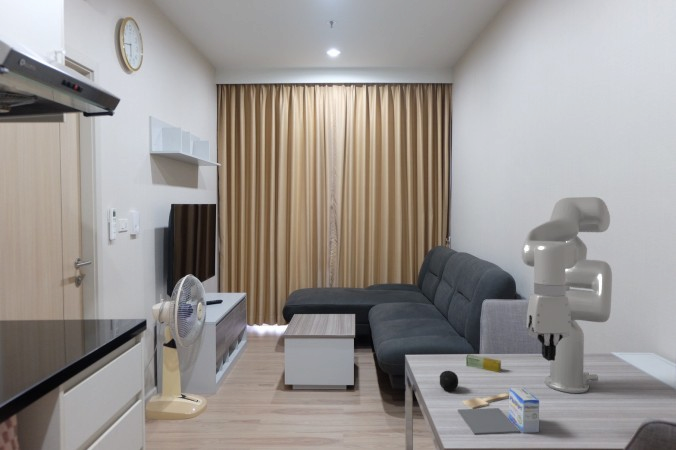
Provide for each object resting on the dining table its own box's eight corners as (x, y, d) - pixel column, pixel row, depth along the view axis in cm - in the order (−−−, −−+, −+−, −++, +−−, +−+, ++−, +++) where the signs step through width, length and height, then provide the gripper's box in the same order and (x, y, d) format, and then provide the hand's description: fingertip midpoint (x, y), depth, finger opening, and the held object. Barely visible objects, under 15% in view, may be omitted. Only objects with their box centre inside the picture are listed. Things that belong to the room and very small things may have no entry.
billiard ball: (459, 394, 136) (459, 375, 136) (439, 393, 137) (439, 374, 137) (457, 386, 142) (457, 368, 141) (438, 385, 143) (438, 367, 143)
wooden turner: (503, 393, 136) (503, 391, 136) (514, 399, 132) (514, 396, 132) (462, 403, 130) (462, 400, 130) (472, 409, 126) (472, 406, 126)
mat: (498, 409, 125) (498, 408, 125) (520, 432, 112) (520, 431, 112) (457, 410, 125) (457, 409, 125) (474, 434, 112) (474, 432, 112)
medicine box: (508, 418, 120) (508, 387, 120) (523, 417, 120) (524, 387, 120) (522, 433, 112) (523, 400, 112) (539, 432, 113) (539, 399, 112)
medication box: (465, 366, 160) (465, 355, 160) (468, 364, 162) (468, 353, 162) (499, 373, 153) (499, 362, 153) (501, 370, 155) (501, 359, 155)
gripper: (568, 287, 119) (567, 353, 120) (515, 288, 118) (514, 355, 119) (585, 292, 112) (584, 363, 112) (529, 293, 111) (528, 364, 111)
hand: (548, 358), depth 116 cm, fingers closed
